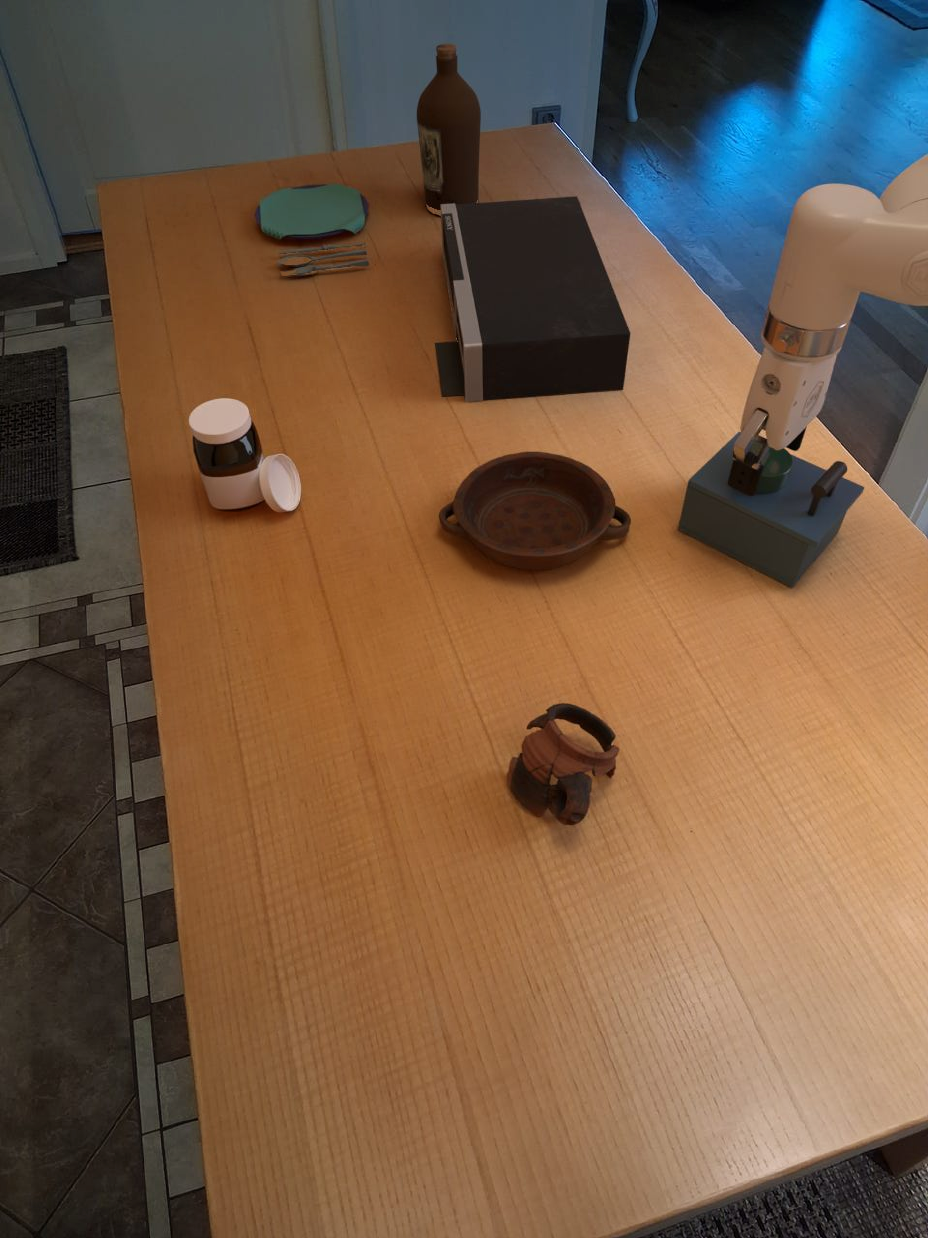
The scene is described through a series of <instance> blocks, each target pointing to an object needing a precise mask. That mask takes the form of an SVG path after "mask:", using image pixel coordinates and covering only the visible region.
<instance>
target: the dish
mask: <svg viewBox="0 0 928 1238" xmlns="http://www.w3.org/2000/svg"><path fill="white" fill-rule="evenodd" d="M616 504H617V503H616V498H615V496H614V493H613V491H612V489H611V486H609V483H608V482H607V480H605V478H604V477H603V476H601V475H600V474H599V473H598V472H597V471H595V470H594V469H593V468H592V467H590V466H589V465H587V464H585V463H583V462H581V461H578V460H577V459H574V458H572V457H568V456H565V455H561V454H556V453H551V452H545V451H521V452H516V453H515V452H514V453H509V454H505V455H501V456H499V457H496V458H493V459H490V460H488V461H486V462H485V463H483V464H481V465H479V466H477V467H476V468H474V469H473V470H472V471H471V472H469V474H468V475H467V476H466V477H465V478H464V479H463V480H462V482H461V483H460V485H459V486H458V488H457V490H456V492H455V494H454V497H453V501H451V502H449V503H447V504H446V505H445V506H443V507H442V508H441V509H440V511H439V513H438V521H439V524H440V526H441V528H442V530H444V531H445V532H446V533H448V534H450V535H452V536H457V537H461V538H462V537H464V538H467V539H469V540H471V541H472V542H473V543H474V545H475V546H476V547H477V548H478V550H479V551H480V552H481V553H482V554H484V556H486V557H488V558H489V559H491V560H492V561H495V562H497V563H498V564H501V565H504V566H507V567H510V568H515V569H521V570H529V571H530V570H533V571H534V570H536V571H538V570H539V571H540V570H541V571H543V570H551V569H555V568H558V567H563V566H565V565H568V564H572V563H574V562H575V561H577V560H579V559H580V558H581V557H583V556H584V555H585V554H587V553H588V552H589V551H590V549H592V547H593V546H594V545H596V544H597V543H599V542H608V541H614V540H618V539H622V538H624V537H626V536H627V535H628V533H629V532H630V526H631V524H632V519H631V516H630V514H629V512H627V511H626V510H625V509H624V508H622V507H620V506H618V505H616ZM452 516H454V517H455V519H456V520H457V522H451V521H449V520H448V519H449V518H450V517H452ZM612 520H615V521H617V522H618V523H620V525H611V522H612Z"/></svg>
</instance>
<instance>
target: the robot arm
mask: <svg viewBox="0 0 928 1238" xmlns="http://www.w3.org/2000/svg"><path fill="white" fill-rule="evenodd" d="M782 246H783V247H782V250H781V255H780V259H779V263H778V266H777V269H776V270H777V271H776V273H775V278H774V281H773V286H772V290H771V294H770V297H769V301H768V302H769V303H768V306H767V309H766V314H765V317H764V322H763V325H762V329H761V333H760V339H761V342H762V344H763V346H764V348H763V350H762V353H761V355H760V359H759V361H758V364H757V365H756V366H757V367H756V369H755V372H754V376H753V379H752V381H751V385H750V388H749V390H748V394H747V397H746V401H745V404H744V408H743V412H742V417H741V420H740V427H739V430H740V432H741V434H740V436H739V437H738V439H737V440H736V442H735V444H734V447H733V448H734V451H733V463H732V467H731V471H730V475H729V479H728V485H729V486H730V487H732V488H734V489H736V490H738V491H740V492H742V493H745V494H747V495H749V496H751V497H753V496H754V495H755V494H756V493H757V490H758V487H759V483H760V480H761V476H762V473H763V470H764V466H763V465H762V462H763V460H764V458H765V457H766V455H767V453H768V451H769V449H770V447H771V448H774V449H775V450H781V449H783V448H784V449H787V450H791V451H793V452H797V451H798V450H799V449H801V446H802V443H803V441H804V437H805V434H806V431H807V427H808V426H809V425H810V424H811V423H812V421H813V420H814V419H815V418H816V417H817V416H818V415H819V413H820V412H821V410H822V409H823V407H824V403H825V400H826V397H827V394H828V389H829V386H830V382H831V379H832V375H833V372H834V368H835V364H836V360H837V357H838V354H839V353H840V351H841V350H842V347H843V344H844V341H845V338H846V335H847V332H848V330H849V327H850V324H851V321H852V317H853V314H854V312H855V308H856V305H857V304H858V303H857V302H858V300H859V297H860V294H861V293H862V292H863V293H865V294H869V295H871V296H875V297H877V298H878V297H879V298H881V299H885V300H888V301H891V302H895V303H899V304H903V305H907V306H916V307H927V306H928V153H926V154H925V155H924V156H922V157H921V158H919V159H918V160H916V161H914V162H913V163H912V164H911V165H909V166H908V167H907V168H905V169H904V170H903V171H901V173H900V174H898V175H897V176H896V177H895V178H894V179H893V180H892V181H891V182H890V183H889V184H888V185H887V187H886V188H885V189H884V190H883V192H882V194H881V195H880V197H878V196H877V195H876V194H874V193H873V192H872V191H870V190H868V189H865V188H863V187H860V186H857V185H852V184H846V183H824V184H819V185H816V186H813V187H811V188H809V189H807V190H806V191H804V192H803V193H802V194H801V195H800V196H799V197H798V199H797V200H796V202H795V204H794V206H793V209H792V213H791V215H790V219H789V222H788V227H787V231H786V235H785V238H784V243H783V245H782ZM762 431H765V437H764V436H761V435H760V433H761V432H762ZM754 441H757V442H759V443H761V444H763V445H762V447H761V449H760V451H759V453H758V455H757V456H756V455H755V454H754V453H752V452H750V451H751V447H752V444H753V442H754Z"/></svg>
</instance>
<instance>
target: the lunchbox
mask: <svg viewBox="0 0 928 1238" xmlns="http://www.w3.org/2000/svg"><path fill="white" fill-rule="evenodd" d="M846 514H847V512H846V513H845V514H844V515H843V516H842V517H841V519H840V520H839V521H838V522H837V523H836V524H835V526H834V527H833V528H832V529H831V530H830V532H829V533H828V534H827V535H826V536H825V537H824V539H823V540H822V541H821V542H820V543H819V545H818V546H817V547H816V548H815V547H813V546H811V545H809V544H807V543H805V542H803V541H801V540H799V539H797V538H795V537H793V536H791V535H788V534H786V533H784V532H782V531H780V530H778V529H776V528H774V527H772V526H770V525H768V524H766V523H764V522H762V521H760V520H758V519H756V518H754V517H752V516H750V515H748V514H745V513H743V512H741V511H739V510H737V509H735V508H733V507H731V506H729V505H727V504H725V503H723V502H721V501H719V500H717V499H715V498H713V497H711V496H709V495H707V494H704V493H702V492H700V491H698V490H696V489H694V488H692V487H690V486H688V485H686V489H685V495H684V498H683V504H682V508H681V513H680V517H679V521H678V526H677V530H678V531H679V532H681V533H683V534H685V535H686V536H689V537H691V538H693V539H694V540H697V541H699V542H700V543H702V544H705V545H706V546H709V547H710V548H712V549H714V550H716V551H718V552H720V553H722V554H724V555H726V556H727V557H729V558H731V559H734V560H736V561H738V562H740V563H742V564H743V565H745V566H748V567H749V568H752V569H754V570H755V571H758V572H759V573H761V574H763V575H765V576H767V577H768V578H772V580H775V581H777V582H779V583H781V584H783V585H785V586H787V587H788V588H790V589H793V588H794V587H795V585H796V584H797V583H798V582H799V581H800V579H801V578H802V577H803V576H804V574H806V573H807V571H808V570H809V569H810V568H811V567H812V565H813V564H814V563H815V562H816V560H818V558H819V557H820V556H821V554H822V553H823V552H824V551H825V550H826V548H828V546H829V545H830V544H831V542H833V540H834V539H835V538H836V537H837V535H838V534H839V531H840V529H841V527H842V524H843V522H844V520H845V517H846Z"/></svg>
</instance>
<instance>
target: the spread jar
mask: <svg viewBox="0 0 928 1238" xmlns="http://www.w3.org/2000/svg"><path fill="white" fill-rule="evenodd" d="M188 424H189V427H190V431H191V433H192V449H193V454H194V457H195V462H196V464H197V468H198V471H199V474H200V477H201V480H202V483H203V486H204V490H205V493H206V495H207V498H208V501H209V504H210V505H211V506H212V508H214V509H215V510H217V511H219V512H225V513H240V512H241V513H242V512H247V511H249V510H252V509H254V508H257V507H259V506H260V505H263V504H264V503H266V504H267V505H268V506H269V507H270V509H271V510H273V511H274V512H276V513H287V512H291V511H294V510H295V509H297V507H298V506H299V503H300V501H301V498H302V484H301V478H300V474H299V471H298V469H297V467H296V465H295V462H293V460H292V459H291V458H290V457H289V456H287V455H285V454H283V453H278V454H277V453H276V454H272V455H268V456H266V457H265V455H264V451H263V447H262V442H261V439H260V436H259V432H258V429H257V426H256V425H255V422H254V421H253V420H252V418H251V414H250V410H249V408H248V406H247V405H246V404H245V403H244V402H242V401H240V400H238V399H233V398H228V397H226V398H224V397H222V398H215V399H211V400H208V401H207V400H206V401H205V402H203V403H201V404H199V405H198V406H196V407H195V408H194V409H193V410H192V412H191V413H190V414H189V417H188Z"/></svg>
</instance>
